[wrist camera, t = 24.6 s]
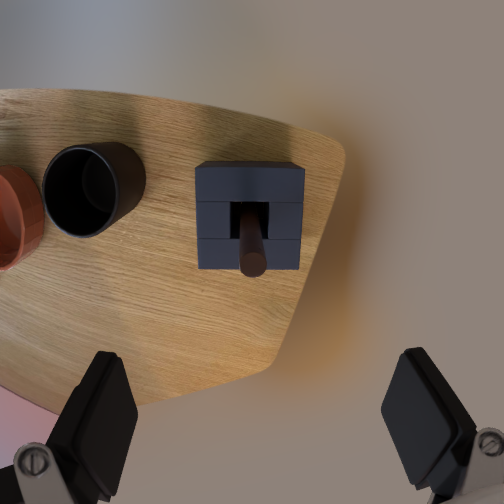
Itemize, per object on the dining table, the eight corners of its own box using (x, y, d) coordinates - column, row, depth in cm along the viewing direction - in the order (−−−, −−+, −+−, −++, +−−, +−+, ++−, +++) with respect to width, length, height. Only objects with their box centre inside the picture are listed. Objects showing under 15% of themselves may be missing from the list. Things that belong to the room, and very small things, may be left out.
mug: (65, 141, 33) (24, 145, 25) (150, 143, 34) (122, 145, 25) (64, 211, 36) (26, 231, 28) (144, 219, 37) (118, 243, 29)
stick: (240, 198, 37) (239, 251, 20) (256, 198, 37) (267, 252, 20) (240, 213, 37) (238, 277, 20) (255, 213, 37) (266, 278, 20)
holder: (205, 161, 35) (194, 167, 28) (291, 162, 35) (305, 168, 28) (206, 243, 38) (198, 269, 31) (288, 243, 39) (299, 269, 31)
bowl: (-21, 171, 33) (-43, 177, 28) (41, 158, 34) (17, 163, 28) (-8, 256, 38) (-28, 269, 33) (53, 257, 38) (33, 272, 33)
